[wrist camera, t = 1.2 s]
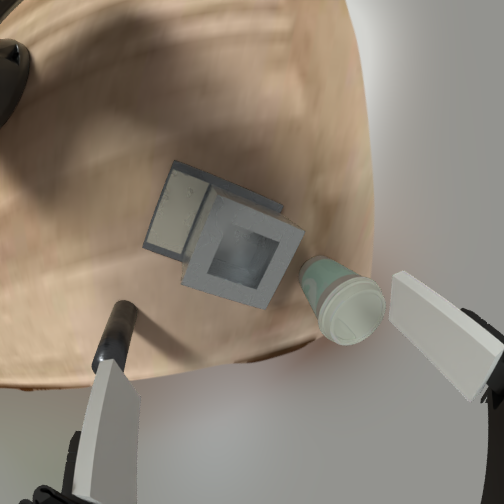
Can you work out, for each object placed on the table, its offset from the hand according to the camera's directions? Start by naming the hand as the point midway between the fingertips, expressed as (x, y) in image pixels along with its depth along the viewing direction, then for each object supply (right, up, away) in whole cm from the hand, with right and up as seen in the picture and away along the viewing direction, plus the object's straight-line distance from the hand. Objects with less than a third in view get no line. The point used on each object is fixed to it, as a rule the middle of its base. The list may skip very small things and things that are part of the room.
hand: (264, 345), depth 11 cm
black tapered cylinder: (-18, -4, +23) cm, 30 cm away
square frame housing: (-5, +7, +22) cm, 24 cm away
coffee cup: (+9, +1, +28) cm, 29 cm away
